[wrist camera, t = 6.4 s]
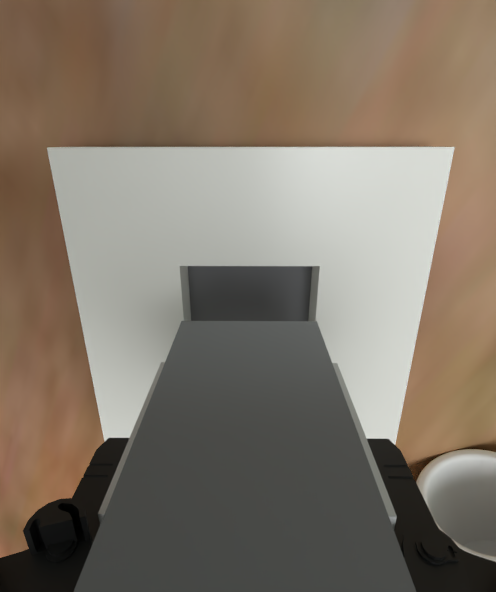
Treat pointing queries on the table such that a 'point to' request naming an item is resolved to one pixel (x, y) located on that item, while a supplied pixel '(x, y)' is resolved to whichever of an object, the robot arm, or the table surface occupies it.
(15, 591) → the robot arm
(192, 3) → the table surface
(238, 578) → the plug
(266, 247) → the socket plate
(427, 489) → the mug
